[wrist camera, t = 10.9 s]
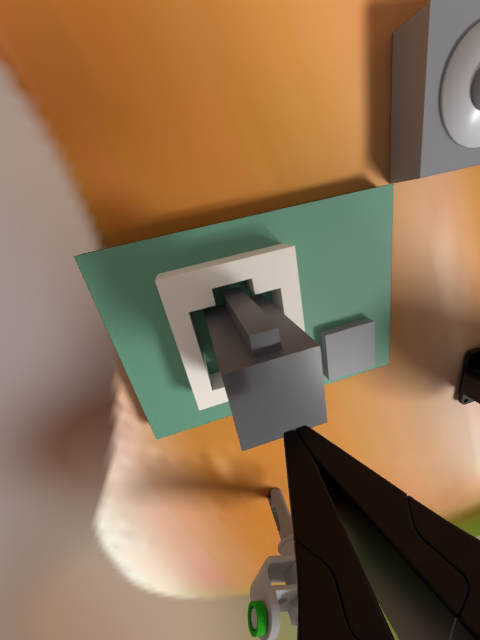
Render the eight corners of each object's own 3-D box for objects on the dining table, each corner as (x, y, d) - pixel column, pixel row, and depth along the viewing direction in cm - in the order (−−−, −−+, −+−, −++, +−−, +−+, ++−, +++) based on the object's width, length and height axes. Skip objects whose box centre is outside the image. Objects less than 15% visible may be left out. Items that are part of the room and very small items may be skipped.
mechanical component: (234, 479, 25) (266, 627, 16) (320, 486, 28) (387, 612, 19) (224, 501, 26) (248, 654, 17) (308, 505, 29) (368, 636, 20)
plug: (258, 279, 17) (318, 322, 10) (270, 345, 19) (327, 421, 12) (199, 294, 17) (215, 352, 9) (217, 360, 18) (242, 451, 11)
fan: (505, 16, 16) (569, -24, 13) (484, 162, 19) (533, 152, 17) (392, 33, 15) (437, -7, 12) (389, 183, 18) (425, 176, 16)
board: (377, 186, 18) (419, 178, 15) (376, 355, 23) (408, 376, 20) (83, 253, 16) (58, 261, 12) (158, 425, 21) (154, 461, 18)
